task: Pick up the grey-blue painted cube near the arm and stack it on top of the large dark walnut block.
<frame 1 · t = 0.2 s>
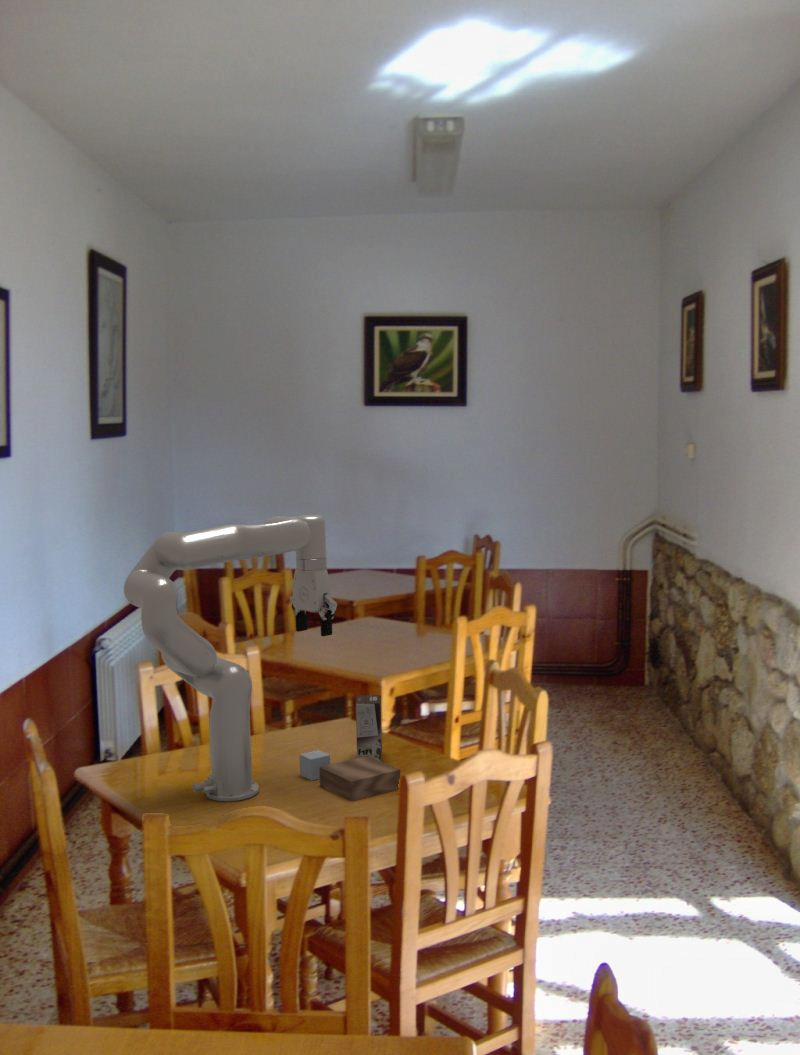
hand: (314, 633, 265), 36 cm above the table, tool pointing down, fingers open, 9 cm apart
walnut block: (360, 788, 257), on the table
coffee box: (370, 760, 278), on the table
grey blue cube: (315, 776, 266), on the table
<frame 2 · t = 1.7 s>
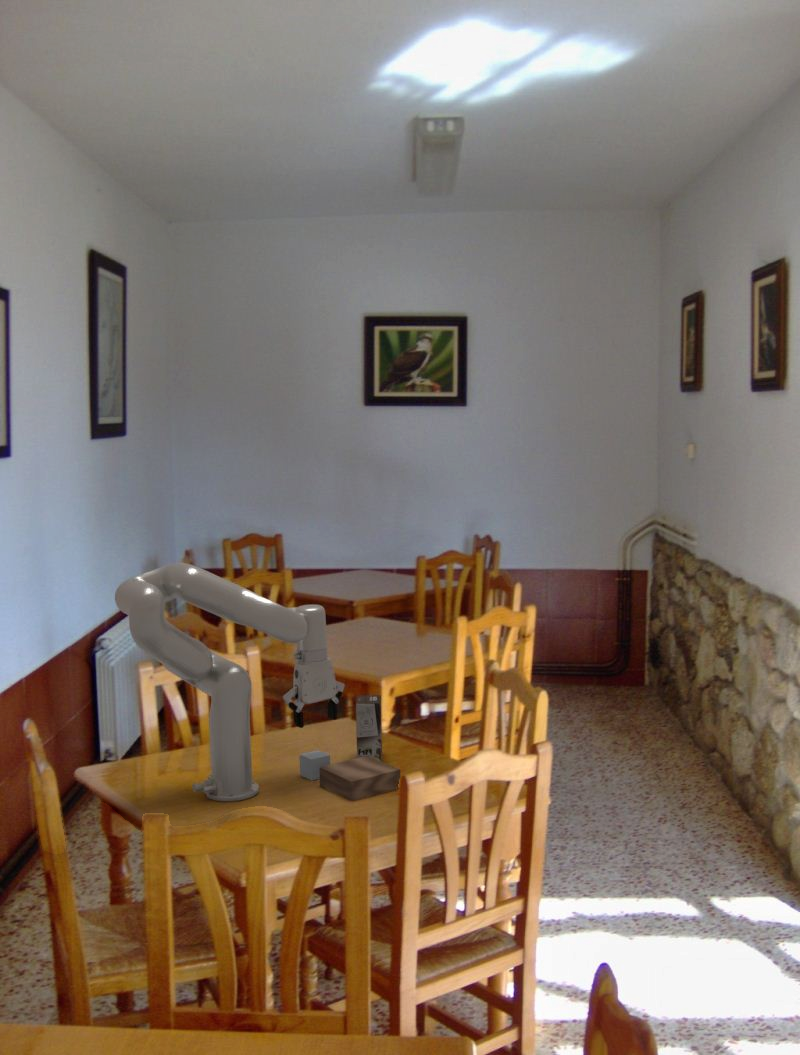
hand: (316, 722, 265), 13 cm above the table, tool pointing down, fingers open, 9 cm apart
nothing on the table moved.
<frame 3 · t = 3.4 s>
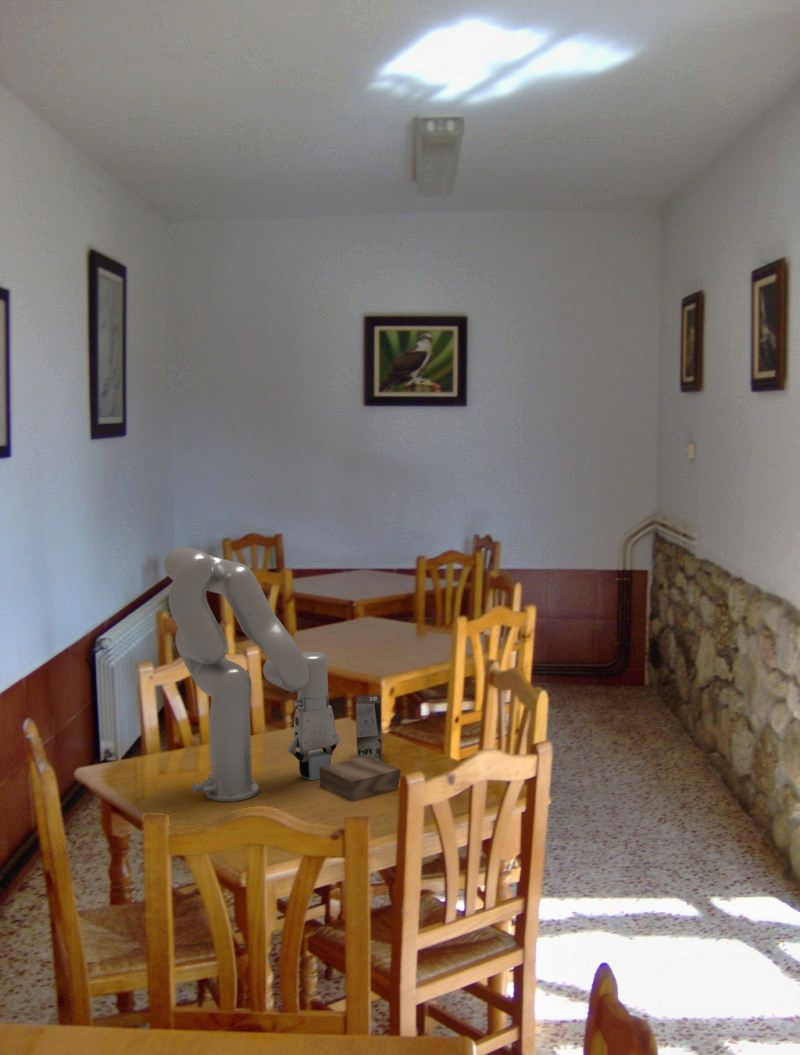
hand: (315, 772, 266), 1 cm above the table, tool pointing down, fingers closed on grey blue cube, 5 cm apart
grey blue cube: (315, 775, 266), on the table, touching gripper
everything else where it was.
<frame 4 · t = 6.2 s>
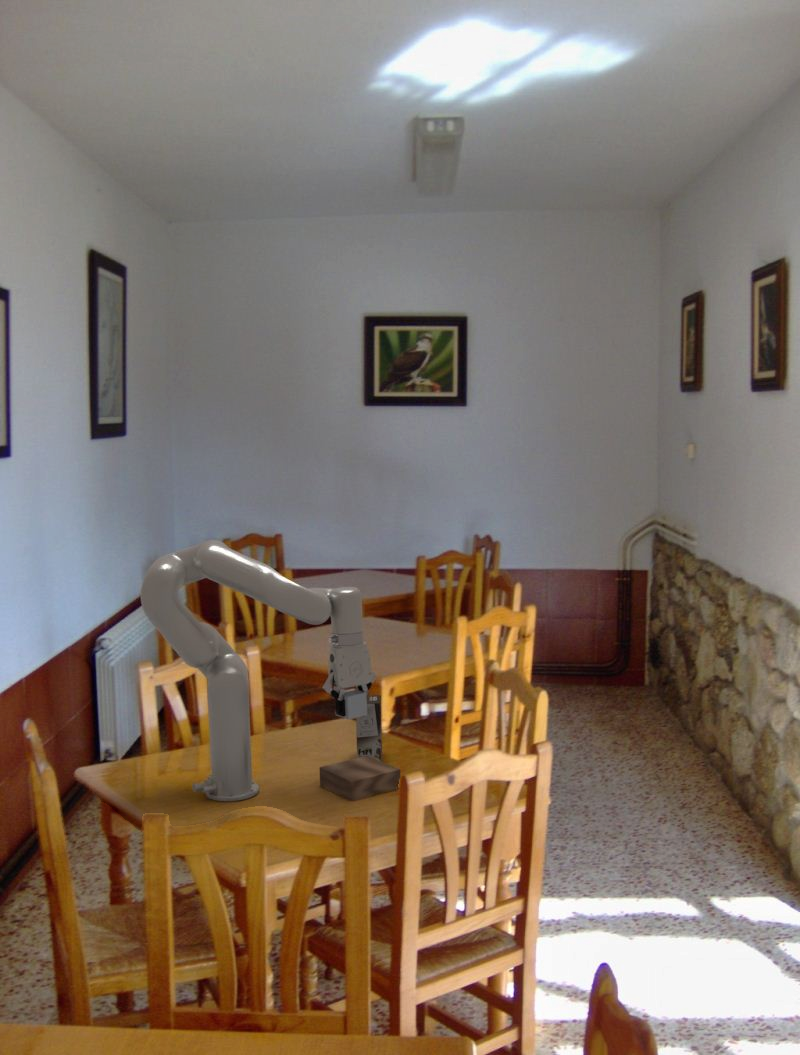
hand: (351, 711, 257), 18 cm above the table, tool pointing down, fingers closed on grey blue cube, 5 cm apart
grey blue cube: (351, 715, 257), point 17 cm above the table, touching gripper
everything else where it was.
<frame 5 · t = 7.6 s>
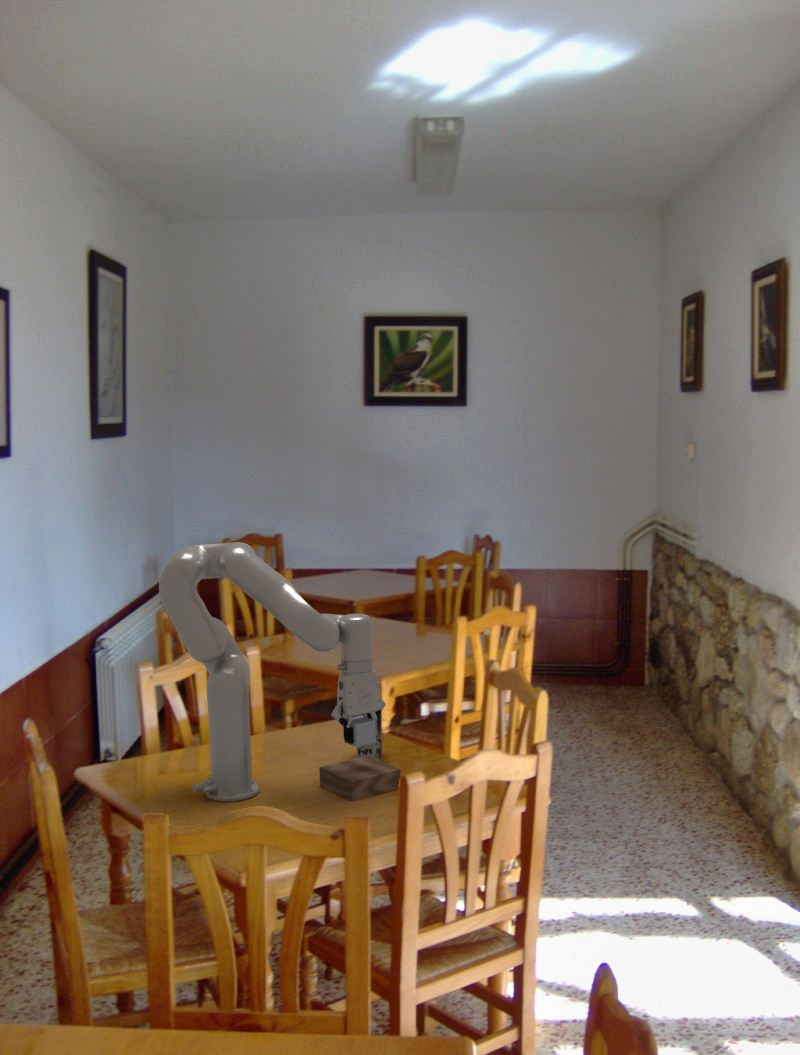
hand: (360, 739, 256), 12 cm above the table, tool pointing down, fingers closed on grey blue cube, 5 cm apart
grey blue cube: (360, 742, 256), point 11 cm above the table, touching gripper
everything else where it was.
when the fingers open (7 cm above the table, at t = 8.9 s): grey blue cube drops 2 cm, point 5 cm above the table.
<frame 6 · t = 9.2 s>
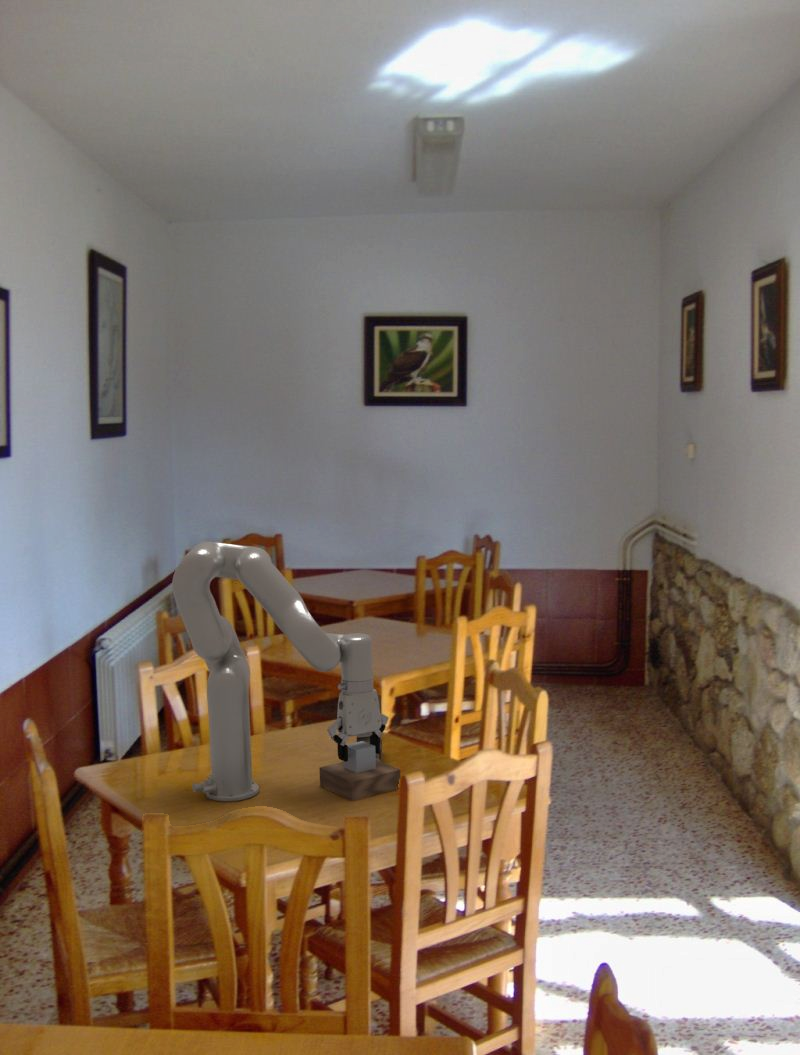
hand: (359, 756, 256), 8 cm above the table, tool pointing down, fingers open, 8 cm apart
grey blue cube: (360, 767, 257), point 5 cm above the table
everything else where it was.
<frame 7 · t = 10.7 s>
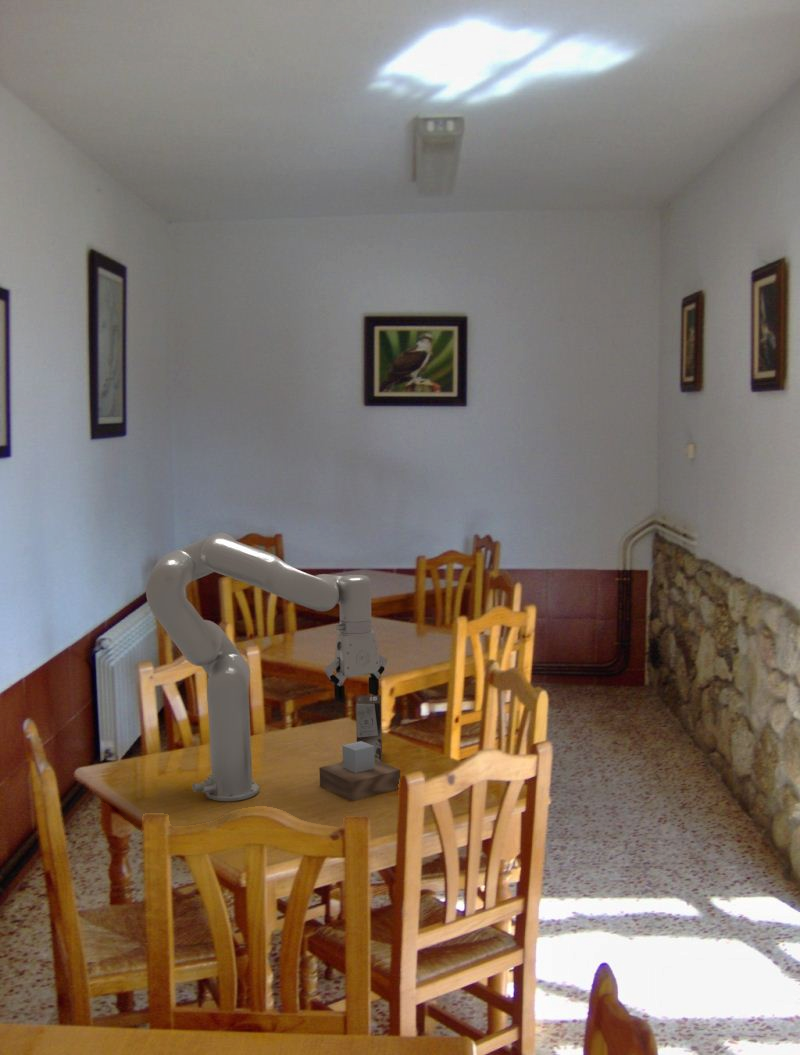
hand: (357, 697, 255), 22 cm above the table, tool pointing down, fingers open, 9 cm apart
walnut block: (360, 788, 257), on the table, touching grey blue cube
grey blue cube: (358, 768, 257), point 5 cm above the table, touching walnut block
everything else where it was.
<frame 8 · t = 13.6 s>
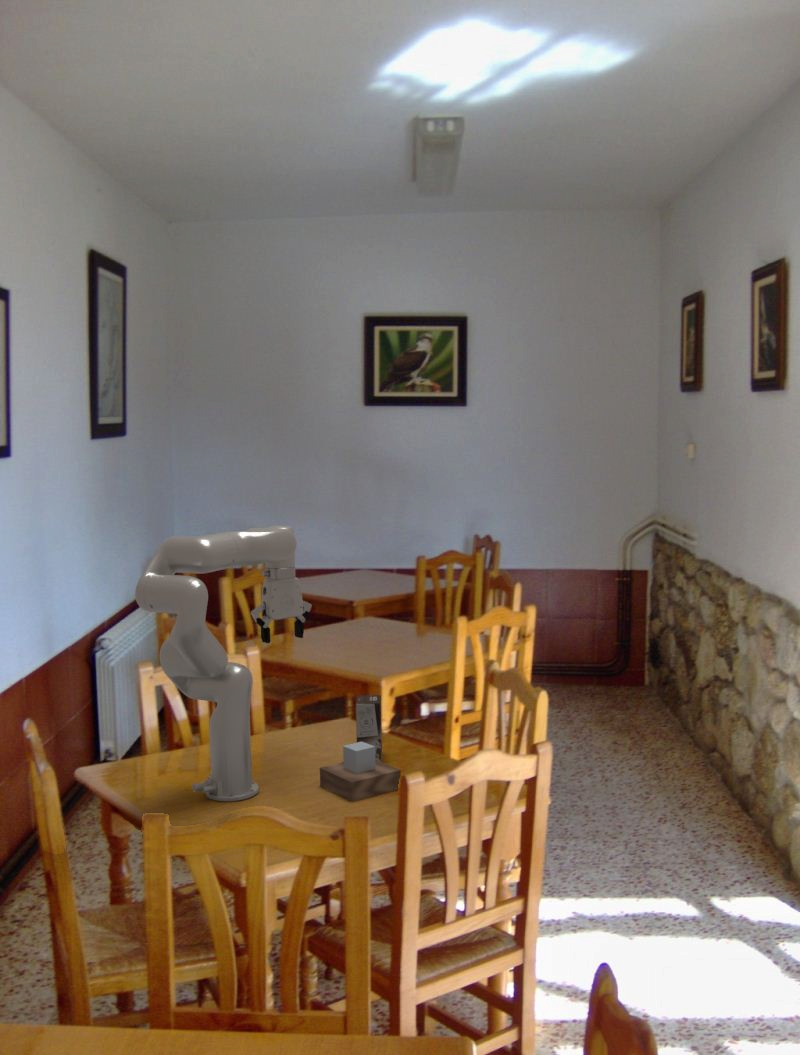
hand: (282, 639, 274), 32 cm above the table, tool pointing down, fingers open, 9 cm apart
nothing on the table moved.
at the end: grey blue cube 0.3 cm off-centre on the walnut block, point 5.0 cm above the walnut block's base; grey blue cube tilted 0°; the gripper is holding nothing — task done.
